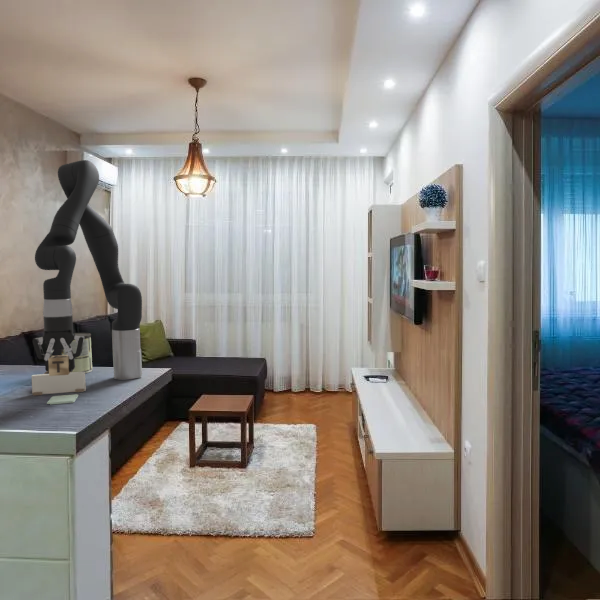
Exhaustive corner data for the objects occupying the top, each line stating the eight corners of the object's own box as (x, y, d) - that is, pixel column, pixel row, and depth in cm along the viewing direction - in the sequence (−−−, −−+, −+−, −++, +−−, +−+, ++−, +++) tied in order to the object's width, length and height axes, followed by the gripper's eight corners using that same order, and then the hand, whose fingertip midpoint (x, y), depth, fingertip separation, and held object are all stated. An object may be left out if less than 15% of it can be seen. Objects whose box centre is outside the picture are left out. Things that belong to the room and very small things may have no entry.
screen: (86, 389, 151) (85, 370, 150) (84, 391, 148) (83, 373, 147) (34, 393, 147) (33, 374, 146) (31, 395, 144) (30, 376, 143)
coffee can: (57, 372, 175) (55, 335, 174) (83, 367, 183) (81, 332, 182) (71, 376, 169) (69, 337, 168) (98, 370, 177) (96, 334, 176)
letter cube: (71, 371, 141) (71, 354, 140) (68, 374, 136) (67, 357, 135) (53, 372, 139) (52, 355, 139) (49, 375, 135) (48, 358, 134)
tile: (78, 396, 143) (78, 394, 143) (73, 402, 136) (73, 400, 136) (52, 398, 141) (52, 396, 141) (47, 404, 134) (46, 402, 134)
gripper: (87, 312, 142) (89, 368, 143) (34, 314, 138) (37, 370, 139) (82, 315, 135) (84, 373, 136) (26, 316, 131) (29, 376, 132)
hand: (60, 371), depth 138 cm, fingers closed on letter cube, 5 cm apart
